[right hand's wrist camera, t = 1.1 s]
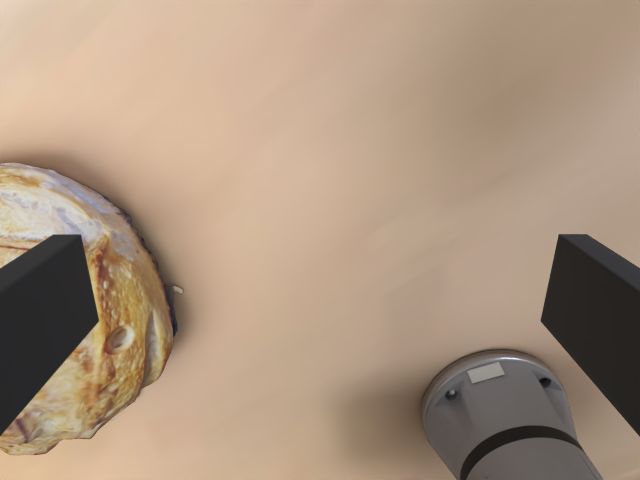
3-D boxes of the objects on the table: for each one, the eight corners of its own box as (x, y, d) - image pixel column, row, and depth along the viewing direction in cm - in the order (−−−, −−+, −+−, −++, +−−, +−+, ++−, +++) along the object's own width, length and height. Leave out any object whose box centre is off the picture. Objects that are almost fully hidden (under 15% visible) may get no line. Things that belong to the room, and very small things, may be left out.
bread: (108, 421, 52) (47, 558, 39) (-147, 292, 43) (-344, 414, 29) (241, 279, 45) (223, 385, 32) (-27, 92, 36) (-213, 128, 23)
